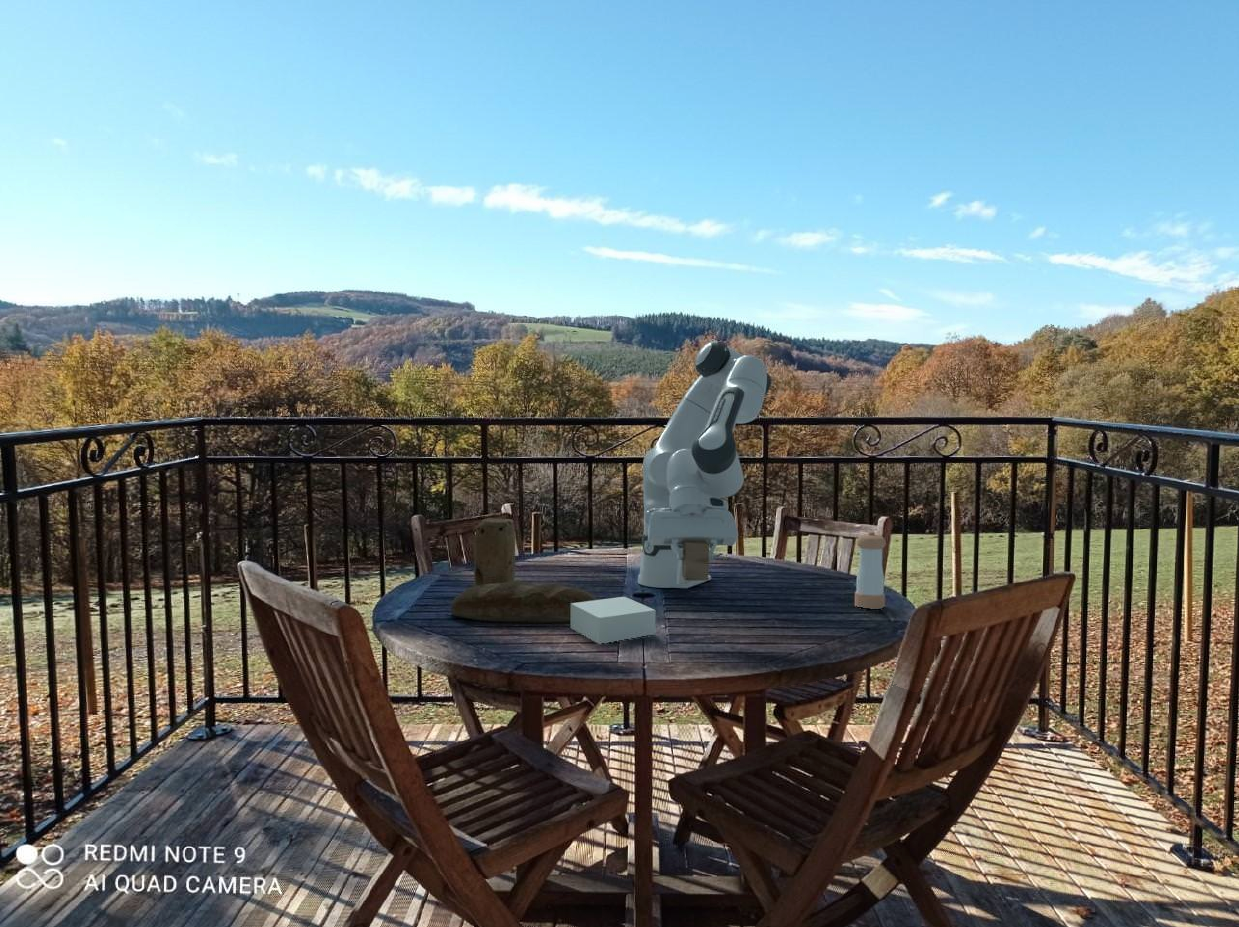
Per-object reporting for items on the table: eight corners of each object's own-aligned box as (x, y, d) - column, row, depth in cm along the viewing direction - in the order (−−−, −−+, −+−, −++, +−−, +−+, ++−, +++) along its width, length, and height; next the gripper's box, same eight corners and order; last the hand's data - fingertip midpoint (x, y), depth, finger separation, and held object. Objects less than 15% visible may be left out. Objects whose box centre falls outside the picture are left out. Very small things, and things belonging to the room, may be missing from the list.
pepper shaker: (886, 611, 195) (888, 534, 194) (855, 609, 196) (857, 533, 195) (882, 603, 202) (884, 529, 201) (853, 602, 203) (855, 528, 202)
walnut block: (681, 575, 176) (682, 540, 176) (703, 575, 177) (704, 540, 176) (685, 580, 171) (686, 544, 171) (708, 580, 172) (709, 544, 171)
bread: (460, 607, 199) (460, 574, 198) (604, 610, 196) (604, 576, 196) (443, 624, 183) (442, 588, 182) (598, 627, 181) (598, 591, 180)
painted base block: (624, 621, 186) (624, 596, 185) (655, 636, 173) (655, 610, 173) (570, 629, 179) (570, 603, 178) (598, 645, 167) (599, 618, 166)
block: (517, 590, 216) (516, 517, 215) (510, 596, 209) (509, 521, 207) (478, 588, 217) (478, 517, 216) (470, 595, 210) (469, 520, 208)
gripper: (646, 500, 179) (650, 550, 170) (734, 501, 181) (743, 550, 172) (643, 516, 184) (647, 566, 175) (729, 517, 185) (738, 566, 176)
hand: (695, 558), depth 173 cm, fingers closed on walnut block, 5 cm apart
